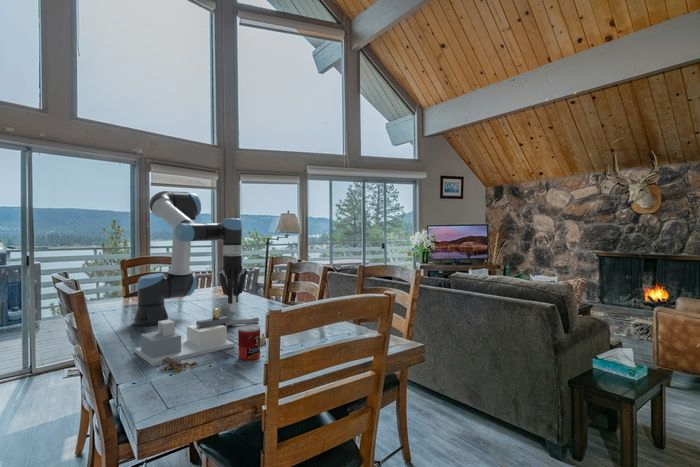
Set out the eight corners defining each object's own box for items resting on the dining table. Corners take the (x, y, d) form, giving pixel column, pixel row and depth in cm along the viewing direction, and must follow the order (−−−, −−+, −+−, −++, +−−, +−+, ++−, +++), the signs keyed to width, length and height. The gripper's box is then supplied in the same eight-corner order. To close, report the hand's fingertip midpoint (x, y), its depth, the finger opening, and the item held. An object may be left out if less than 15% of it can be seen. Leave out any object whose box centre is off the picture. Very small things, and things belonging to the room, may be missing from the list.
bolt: (196, 326, 156) (196, 311, 156) (225, 320, 165) (225, 306, 165) (199, 327, 154) (199, 312, 154) (229, 322, 163) (229, 307, 163)
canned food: (249, 362, 138) (249, 331, 138) (233, 358, 142) (233, 328, 142) (264, 356, 144) (264, 326, 144) (249, 352, 149) (249, 323, 148)
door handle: (219, 334, 194) (223, 322, 178) (217, 318, 197) (221, 305, 181) (255, 329, 201) (262, 317, 185) (253, 314, 205) (259, 301, 189)
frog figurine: (150, 376, 127) (150, 364, 127) (170, 362, 139) (170, 352, 139) (184, 377, 126) (184, 365, 126) (202, 363, 138) (202, 353, 138)
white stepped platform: (134, 352, 148) (134, 320, 148) (210, 336, 169) (210, 308, 169) (153, 366, 134) (153, 331, 134) (233, 346, 155) (233, 316, 155)
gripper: (222, 256, 158) (222, 315, 158) (251, 254, 167) (251, 310, 167) (213, 255, 163) (214, 312, 164) (241, 253, 172) (242, 307, 173)
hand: (233, 311), depth 165 cm, fingers closed
